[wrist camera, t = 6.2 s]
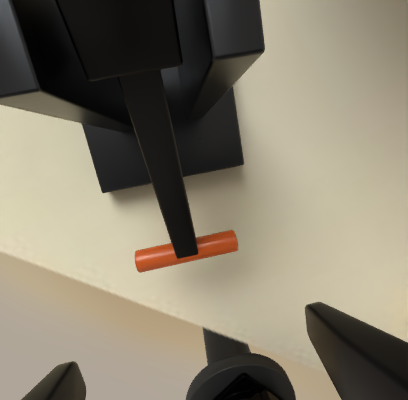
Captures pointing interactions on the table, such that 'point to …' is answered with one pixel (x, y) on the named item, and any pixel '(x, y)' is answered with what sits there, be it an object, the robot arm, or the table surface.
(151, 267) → the lever
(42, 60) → the bracket
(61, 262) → the table surface
